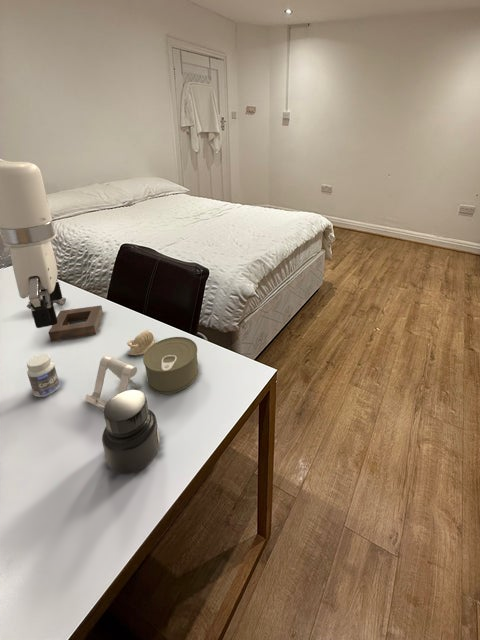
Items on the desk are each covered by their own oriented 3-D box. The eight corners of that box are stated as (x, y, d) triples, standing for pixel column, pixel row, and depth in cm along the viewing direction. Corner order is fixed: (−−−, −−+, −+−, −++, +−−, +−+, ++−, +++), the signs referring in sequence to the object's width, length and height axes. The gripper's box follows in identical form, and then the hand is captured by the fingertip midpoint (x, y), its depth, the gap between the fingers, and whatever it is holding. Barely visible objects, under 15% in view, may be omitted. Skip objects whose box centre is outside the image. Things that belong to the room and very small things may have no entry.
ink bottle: (171, 437, 64) (165, 391, 60) (141, 482, 56) (131, 433, 52) (129, 425, 66) (120, 380, 62) (94, 467, 58) (81, 419, 54)
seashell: (68, 306, 106) (30, 316, 100) (65, 290, 106) (26, 300, 101) (66, 303, 101) (26, 314, 96) (63, 287, 102) (22, 297, 96)
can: (201, 356, 85) (200, 335, 83) (195, 392, 74) (193, 369, 72) (154, 359, 83) (151, 338, 81) (140, 397, 72) (136, 373, 70)
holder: (50, 341, 88) (48, 332, 87) (62, 319, 97) (60, 310, 96) (96, 334, 92) (94, 325, 90) (103, 313, 101) (101, 305, 100)
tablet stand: (86, 403, 70) (79, 373, 67) (117, 378, 77) (112, 350, 74) (115, 417, 67) (109, 387, 64) (145, 390, 74) (140, 361, 71)
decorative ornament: (159, 343, 89) (157, 327, 87) (134, 362, 82) (131, 345, 80) (148, 339, 91) (146, 323, 89) (123, 357, 84) (119, 341, 82)
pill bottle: (43, 400, 70) (33, 370, 67) (28, 393, 72) (18, 364, 69) (64, 384, 75) (56, 356, 72) (50, 378, 76) (42, 350, 73)
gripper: (12, 220, 63) (34, 295, 69) (-12, 253, 49) (17, 343, 56) (59, 216, 67) (75, 288, 73) (48, 245, 53) (70, 331, 59)
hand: (50, 312), depth 64 cm, fingers open, 9 cm apart
